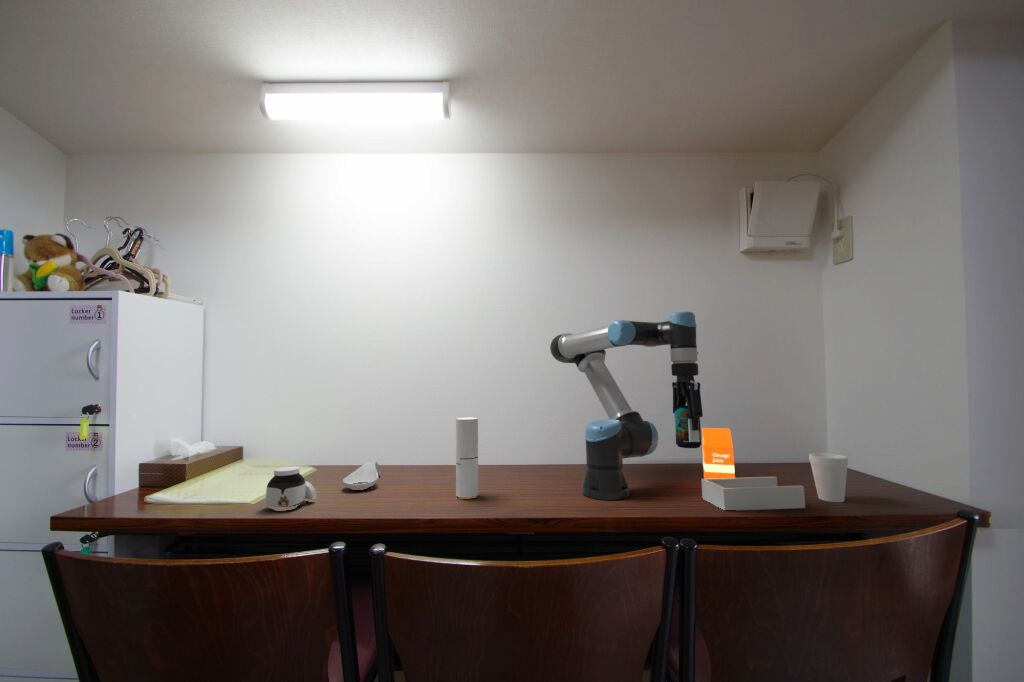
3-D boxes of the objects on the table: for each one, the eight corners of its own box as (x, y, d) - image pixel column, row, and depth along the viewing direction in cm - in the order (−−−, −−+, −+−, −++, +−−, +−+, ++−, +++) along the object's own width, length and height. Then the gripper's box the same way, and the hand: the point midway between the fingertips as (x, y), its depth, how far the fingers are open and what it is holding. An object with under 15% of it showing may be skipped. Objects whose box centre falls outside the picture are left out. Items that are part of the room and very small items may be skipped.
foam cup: (841, 496, 131) (838, 453, 132) (857, 504, 122) (853, 459, 123) (806, 494, 133) (804, 452, 134) (819, 502, 124) (816, 457, 125)
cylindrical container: (472, 500, 131) (472, 419, 133) (452, 498, 133) (452, 419, 135) (481, 494, 138) (481, 417, 140) (462, 492, 140) (461, 417, 142)
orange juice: (704, 484, 147) (701, 426, 148) (732, 486, 144) (728, 427, 146) (706, 490, 139) (703, 429, 141) (736, 492, 136) (732, 430, 138)
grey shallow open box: (724, 510, 118) (723, 489, 118) (702, 498, 130) (701, 478, 130) (805, 507, 120) (803, 486, 120) (775, 496, 131) (774, 476, 132)
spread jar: (261, 512, 122) (262, 471, 123) (282, 501, 133) (284, 463, 134) (302, 512, 122) (303, 471, 123) (320, 500, 133) (321, 463, 134)
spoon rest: (372, 493, 141) (373, 471, 142) (337, 494, 141) (337, 472, 141) (389, 477, 165) (389, 458, 165) (359, 477, 164) (359, 459, 165)
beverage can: (691, 449, 120) (689, 407, 121) (671, 446, 126) (669, 406, 127) (706, 447, 124) (704, 406, 125) (685, 444, 129) (683, 405, 131)
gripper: (713, 361, 117) (718, 444, 115) (681, 363, 137) (685, 435, 135) (687, 361, 117) (691, 445, 115) (659, 364, 137) (662, 435, 135)
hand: (688, 439), depth 125 cm, fingers closed on beverage can, 7 cm apart
